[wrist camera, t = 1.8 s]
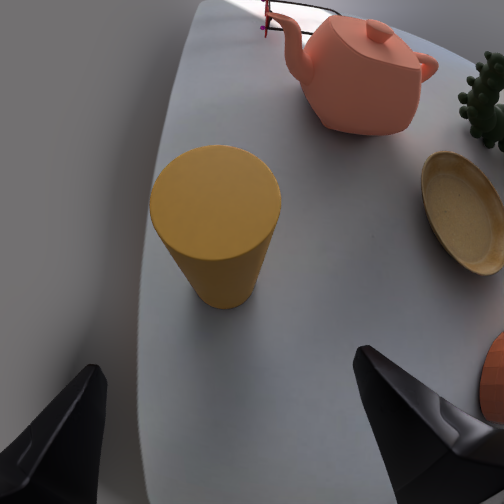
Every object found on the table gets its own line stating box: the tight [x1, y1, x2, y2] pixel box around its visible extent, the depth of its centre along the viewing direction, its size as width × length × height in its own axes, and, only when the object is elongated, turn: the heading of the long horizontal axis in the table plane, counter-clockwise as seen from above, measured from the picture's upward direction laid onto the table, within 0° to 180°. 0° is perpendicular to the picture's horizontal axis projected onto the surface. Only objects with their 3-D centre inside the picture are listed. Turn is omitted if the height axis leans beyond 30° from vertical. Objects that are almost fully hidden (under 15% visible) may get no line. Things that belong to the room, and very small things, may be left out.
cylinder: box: [150, 145, 281, 309], centre depth 16 cm, size 5×5×13 cm
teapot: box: [266, 12, 439, 136], centre depth 24 cm, size 13×20×12 cm, turn 97°
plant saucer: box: [421, 151, 504, 276], centre depth 25 cm, size 15×15×3 cm
